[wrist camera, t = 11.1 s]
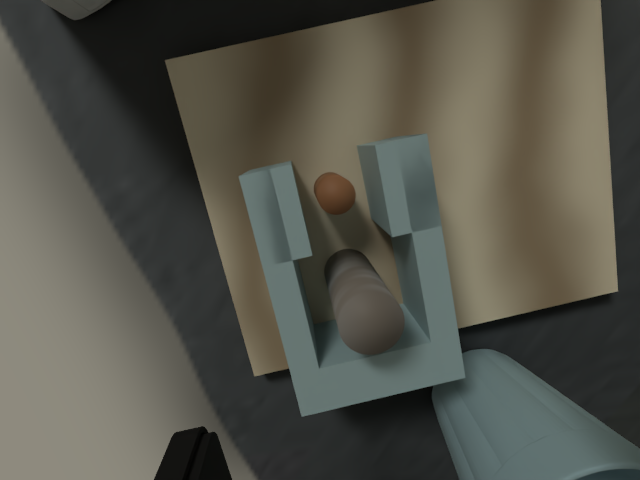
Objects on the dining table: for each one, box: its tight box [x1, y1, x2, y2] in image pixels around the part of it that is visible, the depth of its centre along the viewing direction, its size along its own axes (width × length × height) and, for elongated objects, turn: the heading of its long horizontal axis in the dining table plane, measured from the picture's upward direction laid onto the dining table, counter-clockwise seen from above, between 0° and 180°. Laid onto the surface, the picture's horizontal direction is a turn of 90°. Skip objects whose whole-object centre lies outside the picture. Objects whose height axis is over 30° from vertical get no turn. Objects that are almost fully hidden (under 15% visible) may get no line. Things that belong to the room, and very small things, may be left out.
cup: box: [432, 349, 640, 480], centre depth 20 cm, size 8×8×10 cm
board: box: [165, 0, 618, 376], centre depth 18 cm, size 20×16×8 cm
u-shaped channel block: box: [239, 134, 465, 417], centre depth 19 cm, size 10×7×4 cm
